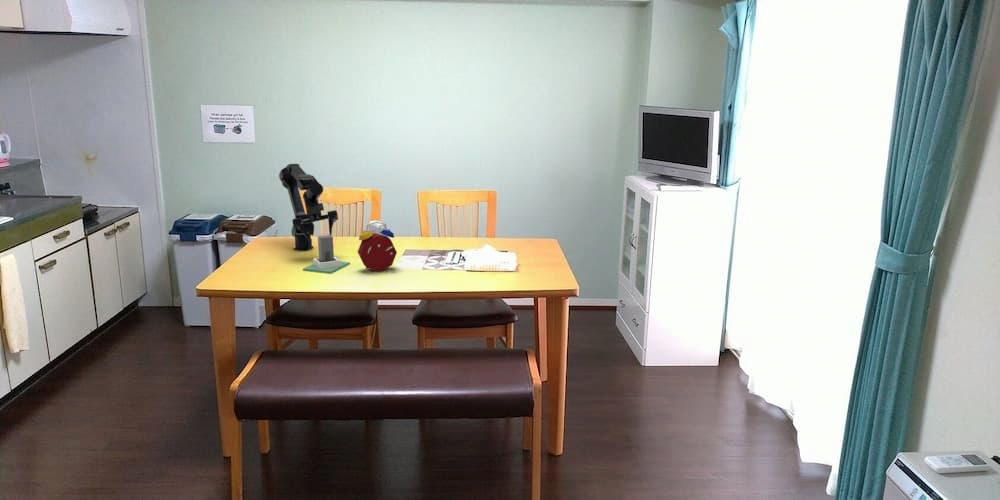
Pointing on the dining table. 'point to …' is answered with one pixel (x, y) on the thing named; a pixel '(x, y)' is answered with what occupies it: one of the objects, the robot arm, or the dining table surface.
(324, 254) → the grey rectangular block
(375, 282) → the dining table surface
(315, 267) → the header board
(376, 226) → the photo printer
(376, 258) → the alarm clock
